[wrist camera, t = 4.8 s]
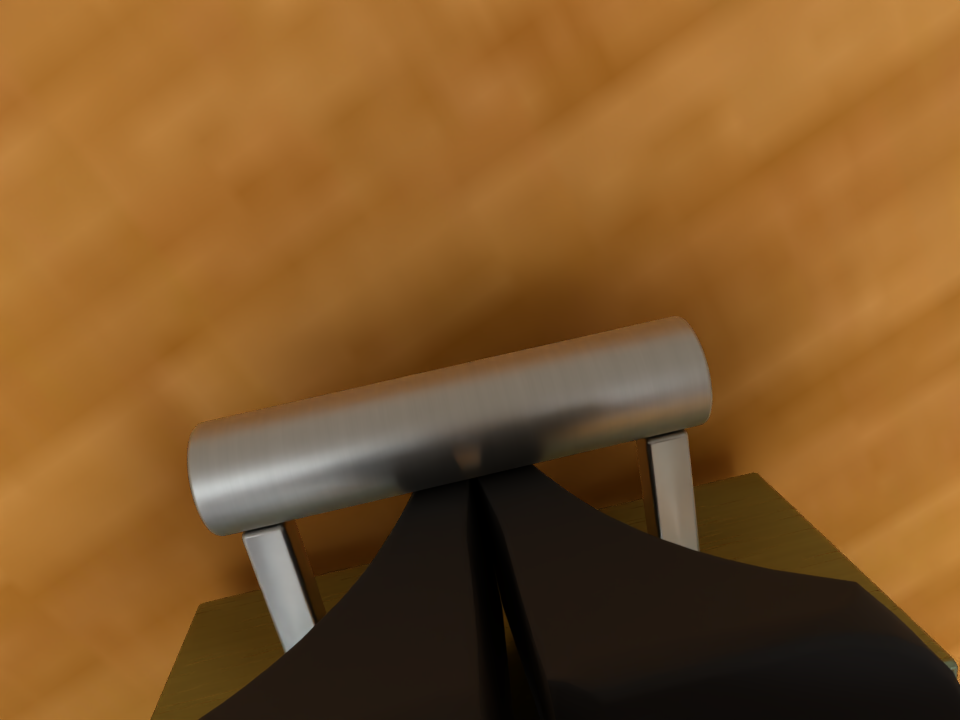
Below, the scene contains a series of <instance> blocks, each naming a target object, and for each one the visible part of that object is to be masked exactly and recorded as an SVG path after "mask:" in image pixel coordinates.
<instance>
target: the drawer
mask: <svg viewBox="0 0 960 720" xmlns="http://www.w3.org/2000/svg"><path fill="white" fill-rule="evenodd" d="M711 410H712V383H711V377H710V372H709V367H708V363H707V360H706V357H705V353H704V351H703V348H702V346H701V343H700V341H699V339H698V337H697V335H696V333H695V332H694V330H693V328H692V327H691V326H690V324H689V323H688V322H687V321H686V320H685V319H683V318H681V317H678V316H672V317H667V318H663V319H658V320H654V321H649V322H645V323H641V324H636V325H632V326H627V327H623V328H618V329H614V330H610V331H605V332H601V333H596V334H592V335H587V336H583V337H578V338H574V339H570V340H565V341H561V342H556V343H552V344H547V345H543V346H539V347H534V348H530V349H525V350H521V351H516V352H512V353H508V354H503V355H499V356H494V357H490V358H485V359H481V360H476V361H472V362H468V363H463V364H459V365H454V366H450V367H445V368H441V369H437V370H432V371H428V372H423V373H419V374H414V375H410V376H405V377H401V378H397V379H392V380H388V381H383V382H379V383H374V384H370V385H366V386H361V387H357V388H352V389H348V390H343V391H339V392H334V393H330V394H326V395H321V396H317V397H312V398H308V399H303V400H299V401H295V402H290V403H286V404H281V405H277V406H272V407H268V408H263V409H259V410H255V411H250V412H246V413H241V414H237V415H232V416H228V417H224V418H219V419H215V420H210V421H206V422H202V423H200V424H198V425H197V426H196V427H195V428H194V429H193V431H192V432H191V435H190V438H189V442H188V448H187V470H188V478H189V484H190V489H191V493H192V497H193V500H194V503H195V506H196V509H197V511H198V513H199V515H200V517H201V519H202V521H203V523H204V524H205V526H206V527H207V528H208V529H209V530H210V531H211V532H212V533H214V534H215V535H219V536H226V535H230V534H235V533H239V532H243V534H242V540H243V543H244V545H245V548H246V551H247V554H248V556H249V559H250V562H251V564H252V567H253V570H254V572H255V575H256V578H257V580H258V583H259V586H260V590H256V591H252V592H247V593H243V594H239V595H235V596H230V597H226V598H222V599H218V600H214V601H209V602H205V603H202V604H200V605H199V607H198V609H197V611H196V614H195V616H194V618H193V621H192V623H191V625H190V628H189V630H188V633H187V635H186V637H185V640H184V642H183V644H182V647H181V649H180V651H179V654H178V656H177V658H176V661H175V663H174V665H173V668H172V670H171V673H170V675H169V677H168V680H167V682H166V684H165V687H164V689H163V691H162V694H161V696H160V698H159V701H158V703H157V706H156V708H155V710H154V713H153V715H152V717H151V720H198V719H200V718H201V717H202V716H204V715H205V714H207V713H208V712H210V711H211V710H213V709H214V708H216V707H217V706H219V705H220V704H222V703H223V702H224V701H226V700H227V699H229V698H230V697H231V696H233V695H234V694H235V693H237V692H238V691H239V690H241V689H242V688H243V687H245V686H246V685H247V684H248V683H250V682H251V681H252V680H253V679H255V678H256V677H257V676H258V675H260V674H261V673H262V672H263V671H265V670H266V669H267V668H268V667H270V666H271V665H272V664H273V663H274V662H276V661H277V660H278V659H279V658H280V657H281V656H283V655H284V654H285V653H286V652H287V651H288V650H290V649H291V648H292V647H293V646H294V645H295V644H296V643H297V642H299V641H300V640H301V639H302V638H303V637H304V636H305V635H306V634H307V633H308V632H309V631H310V630H311V629H312V628H313V627H314V626H315V625H316V624H317V623H318V622H319V621H320V620H321V619H322V618H323V617H324V616H325V615H326V614H327V613H328V612H329V611H330V610H331V609H332V608H333V607H334V606H335V605H336V604H337V603H338V602H339V601H340V600H341V599H342V598H343V596H344V595H345V594H346V593H347V592H348V591H349V590H350V588H351V587H352V586H353V585H354V584H355V582H356V581H357V580H358V579H359V578H360V576H361V575H362V574H363V573H364V572H365V570H366V569H367V567H368V566H369V565H370V564H365V565H361V566H357V567H353V568H349V569H344V570H340V571H336V572H332V573H327V574H323V575H319V576H315V577H314V574H313V571H312V568H311V565H310V562H309V559H308V556H307V553H306V550H305V547H304V544H303V541H302V538H301V535H300V532H299V529H298V526H297V523H296V520H295V519H299V518H303V517H308V516H312V515H316V514H320V513H325V512H329V511H333V510H338V509H342V508H346V507H350V506H355V505H359V504H363V503H368V502H372V501H376V500H380V499H385V498H389V497H393V496H398V495H402V494H406V493H411V492H415V491H419V490H423V489H428V488H432V487H436V486H441V485H445V484H449V483H453V482H458V481H462V480H466V479H471V478H475V477H479V476H483V475H488V474H492V473H496V472H501V471H505V470H509V469H514V468H518V467H522V466H526V465H531V464H535V463H539V462H544V461H548V460H552V459H556V458H561V457H565V456H569V455H574V454H578V453H582V452H586V451H591V450H595V449H599V448H604V447H608V446H612V445H617V444H621V443H625V442H629V441H634V440H635V442H636V450H637V457H638V465H639V472H640V480H641V487H642V495H643V499H640V500H635V501H631V502H627V503H623V504H619V505H614V506H610V507H606V508H602V509H597V510H599V511H600V512H602V513H604V514H606V515H608V516H610V517H612V518H614V519H616V520H619V521H621V522H623V523H625V524H627V525H629V526H631V527H633V528H636V529H638V530H640V531H643V532H645V533H648V534H650V535H653V536H655V537H658V538H661V539H663V540H666V541H669V542H672V543H675V544H678V545H681V546H684V547H687V548H690V549H693V550H696V551H699V552H703V553H706V554H710V555H713V556H717V557H721V558H724V559H729V560H733V561H737V562H742V563H746V564H750V565H755V566H759V567H763V568H768V569H773V570H779V571H786V572H793V573H800V574H806V575H813V576H820V577H827V578H833V579H840V580H847V581H854V582H857V583H858V584H859V585H861V586H862V587H863V588H864V589H865V590H866V591H868V592H869V593H870V594H871V595H872V596H874V597H875V598H876V599H877V600H878V601H880V602H881V603H882V604H883V605H884V606H886V607H887V608H888V609H889V610H890V611H891V612H893V613H894V614H895V615H896V616H897V617H898V618H899V619H900V620H901V621H902V622H903V623H904V624H905V625H907V626H908V627H909V628H910V629H911V630H912V631H913V632H914V633H915V634H916V635H917V636H918V637H919V638H920V639H921V640H922V641H923V642H924V643H925V644H926V645H927V646H928V647H929V648H930V649H931V650H932V651H933V652H934V653H935V654H936V655H937V656H938V657H939V658H940V659H941V660H942V661H943V662H944V663H945V664H946V665H947V666H948V667H949V668H950V669H951V670H952V671H953V673H954V675H955V677H956V678H957V672H958V666H957V664H956V662H955V660H954V659H953V658H952V657H951V656H950V655H949V654H948V653H947V652H946V651H945V650H944V649H943V648H942V647H941V646H940V645H938V644H937V643H936V642H935V641H934V640H933V639H932V638H931V637H930V636H929V635H928V634H927V633H926V632H925V631H924V630H923V629H922V628H920V627H919V626H918V625H917V624H916V623H915V622H914V621H913V620H912V619H911V618H910V617H909V616H908V615H907V614H906V613H905V612H904V611H903V610H901V609H900V608H899V607H898V606H897V605H896V604H895V603H894V602H893V601H892V600H891V599H890V598H889V597H888V596H887V595H886V594H885V593H884V592H882V591H881V590H880V589H879V588H878V587H877V586H876V585H875V584H874V583H873V582H872V581H871V580H870V579H869V578H868V577H867V576H866V575H864V574H863V573H862V572H861V571H860V570H859V569H858V568H857V567H856V566H855V565H854V564H853V563H852V562H851V561H850V560H849V559H848V558H847V557H845V556H844V555H843V554H842V553H841V552H840V551H839V550H838V549H837V548H836V547H835V546H834V545H833V544H832V543H831V542H830V541H829V540H828V539H826V538H825V537H824V536H823V535H822V534H821V533H820V532H819V531H818V530H817V529H816V528H815V527H814V526H813V525H812V524H811V523H810V522H808V521H807V520H806V519H805V518H804V517H803V516H802V515H801V514H800V513H799V512H798V511H797V510H796V509H795V508H794V507H793V506H792V505H791V504H789V503H788V502H787V501H786V500H785V499H784V498H783V497H782V496H781V495H780V494H779V493H778V492H777V491H776V490H775V489H774V488H773V487H772V486H770V485H769V484H768V483H767V482H766V481H765V480H764V479H763V478H762V477H761V476H760V475H759V474H758V473H749V474H745V475H741V476H737V477H732V478H728V479H724V480H720V481H716V482H711V483H707V484H703V485H699V486H695V487H693V479H692V469H691V459H690V450H689V440H688V433H687V432H686V430H685V428H689V427H694V426H698V425H702V424H704V423H705V422H706V421H707V420H708V419H709V417H710V414H711ZM493 566H494V565H493ZM495 575H496V574H495ZM497 584H498V583H497ZM498 589H499V588H498ZM499 593H500V592H499ZM500 598H501V597H500ZM501 603H502V601H501ZM502 610H503V619H504V629H505V639H506V648H507V658H508V668H509V678H510V688H511V698H512V708H513V718H514V720H541V719H540V716H539V713H538V710H537V707H536V704H535V701H534V698H533V695H532V692H531V689H530V686H529V683H528V680H527V677H526V674H525V671H524V668H523V665H522V662H521V659H520V656H519V653H518V650H517V647H516V644H515V641H514V638H513V635H512V632H511V629H510V626H509V623H508V620H507V617H506V614H505V611H504V608H503V605H502Z"/></svg>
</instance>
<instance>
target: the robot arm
mask: <svg viewBox="0 0 960 720" xmlns="http://www.w3.org/2000/svg"><path fill="white" fill-rule="evenodd" d="M493 565H494V566H493ZM495 574H496V575H495ZM497 583H498V584H497ZM498 588H499V589H498ZM499 592H500V593H499ZM500 597H501V598H500ZM501 601H502V603H501ZM502 605H503V608H504V611H505V614H506V617H507V620H508V623H509V626H510V629H511V632H512V635H513V638H514V641H515V644H516V647H517V650H518V653H519V656H520V659H521V662H522V665H523V668H524V671H525V674H526V677H527V680H528V683H529V686H530V689H531V692H532V695H533V698H534V701H535V704H536V707H537V710H538V713H539V716H540V719H541V720H960V684H959V682H958V680H957V678H956V677H955V675H954V673H953V671H952V670H951V669H950V668H949V667H948V666H947V665H946V664H945V663H944V662H943V661H942V660H941V659H940V658H939V657H938V656H937V655H936V654H935V653H934V652H933V651H932V650H931V649H930V648H929V647H928V646H927V645H926V644H925V643H924V642H923V641H922V640H921V639H920V638H919V637H918V636H917V635H916V634H915V633H914V632H913V631H912V630H911V629H910V628H909V627H908V626H907V625H905V624H904V623H903V622H902V621H901V620H900V619H899V618H898V617H897V616H896V615H895V614H894V613H893V612H891V611H890V610H889V609H888V608H887V607H886V606H884V605H883V604H882V603H881V602H880V601H878V600H877V599H876V598H875V597H874V596H872V595H871V594H870V593H869V592H868V591H866V590H865V589H864V588H863V587H862V586H861V585H859V584H858V583H857V582H854V581H847V580H840V579H833V578H827V577H820V576H813V575H806V574H800V573H793V572H786V571H779V570H773V569H768V568H763V567H759V566H755V565H750V564H746V563H742V562H737V561H733V560H729V559H724V558H721V557H717V556H713V555H710V554H706V553H703V552H699V551H696V550H693V549H690V548H687V547H684V546H681V545H678V544H675V543H672V542H669V541H666V540H663V539H661V538H658V537H655V536H653V535H650V534H648V533H645V532H643V531H640V530H638V529H636V528H633V527H631V526H629V525H627V524H625V523H623V522H621V521H619V520H616V519H614V518H612V517H610V516H608V515H606V514H604V513H602V512H600V511H599V510H597V509H595V508H593V507H592V506H590V505H588V504H587V503H585V502H583V501H582V500H580V499H579V498H577V497H576V496H574V495H573V494H571V493H570V492H568V491H567V490H565V489H564V488H563V487H561V486H560V485H559V484H557V483H556V482H555V481H553V480H552V479H551V478H549V477H548V476H546V475H545V474H544V473H543V472H541V471H540V470H539V469H538V468H537V467H535V466H534V465H533V464H531V465H526V466H522V467H518V468H514V469H509V470H505V471H501V472H496V473H492V474H488V475H483V476H479V477H475V478H471V479H466V480H462V481H458V482H453V483H449V484H445V485H441V486H436V487H432V488H428V489H423V490H419V491H415V492H413V493H412V495H411V497H410V499H409V501H408V503H407V505H406V507H405V509H404V510H403V512H402V514H401V516H400V518H399V520H398V521H397V523H396V525H395V527H394V528H393V530H392V531H391V533H390V535H389V536H388V538H387V539H386V541H385V542H384V544H383V545H382V547H381V548H380V550H379V552H378V553H377V555H376V556H375V558H374V559H373V561H372V562H371V563H370V565H369V566H368V567H367V569H366V570H365V572H364V573H363V574H362V575H361V576H360V578H359V579H358V580H357V581H356V582H355V584H354V585H353V586H352V587H351V588H350V590H349V591H348V592H347V593H346V594H345V595H344V596H343V598H342V599H341V600H340V601H339V602H338V603H337V604H336V605H335V606H334V607H333V608H332V609H331V610H330V611H329V612H328V613H327V614H326V615H325V616H324V617H323V618H322V619H321V620H320V621H319V622H318V623H317V624H316V625H315V626H314V627H313V628H312V629H311V630H310V631H309V632H308V633H307V634H306V635H305V636H304V637H303V638H302V639H301V640H300V641H299V642H297V643H296V644H295V645H294V646H293V647H292V648H291V649H290V650H288V651H287V652H286V653H285V654H284V655H283V656H281V657H280V658H279V659H278V660H277V661H276V662H274V663H273V664H272V665H271V666H270V667H268V668H267V669H266V670H265V671H263V672H262V673H261V674H260V675H258V676H257V677H256V678H255V679H253V680H252V681H251V682H250V683H248V684H247V685H246V686H245V687H243V688H242V689H241V690H239V691H238V692H237V693H235V694H234V695H233V696H231V697H230V698H229V699H227V700H226V701H224V702H223V703H222V704H220V705H219V706H217V707H216V708H214V709H213V710H211V711H210V712H208V713H207V714H205V715H204V716H202V717H201V718H200V719H198V720H514V718H513V708H512V698H511V688H510V678H509V668H508V658H507V648H506V639H505V629H504V619H503V610H502Z"/></svg>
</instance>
